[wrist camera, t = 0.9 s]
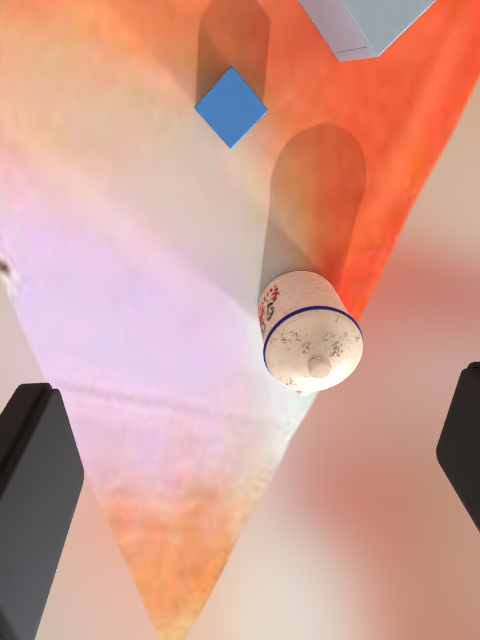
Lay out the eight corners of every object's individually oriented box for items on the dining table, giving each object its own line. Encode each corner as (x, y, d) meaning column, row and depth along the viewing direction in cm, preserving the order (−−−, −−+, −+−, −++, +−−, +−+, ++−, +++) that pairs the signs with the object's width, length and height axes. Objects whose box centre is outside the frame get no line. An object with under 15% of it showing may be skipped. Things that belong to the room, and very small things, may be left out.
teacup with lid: (255, 268, 42) (268, 327, 32) (343, 265, 43) (383, 323, 33) (254, 363, 48) (265, 438, 38) (331, 359, 49) (362, 432, 39)
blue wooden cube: (195, 104, 35) (193, 107, 31) (230, 66, 33) (232, 65, 30) (228, 142, 36) (230, 149, 33) (262, 107, 35) (268, 110, 32)
